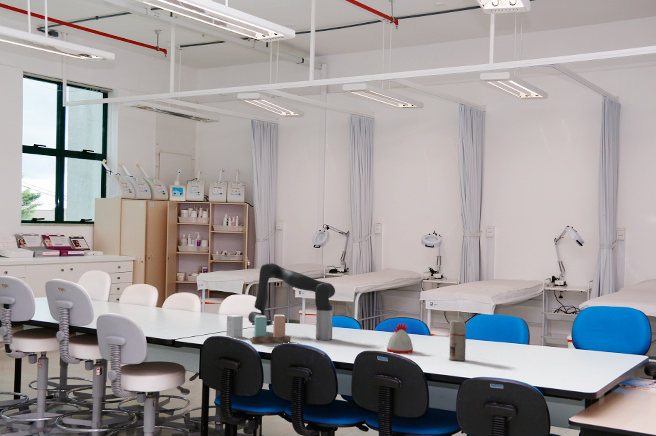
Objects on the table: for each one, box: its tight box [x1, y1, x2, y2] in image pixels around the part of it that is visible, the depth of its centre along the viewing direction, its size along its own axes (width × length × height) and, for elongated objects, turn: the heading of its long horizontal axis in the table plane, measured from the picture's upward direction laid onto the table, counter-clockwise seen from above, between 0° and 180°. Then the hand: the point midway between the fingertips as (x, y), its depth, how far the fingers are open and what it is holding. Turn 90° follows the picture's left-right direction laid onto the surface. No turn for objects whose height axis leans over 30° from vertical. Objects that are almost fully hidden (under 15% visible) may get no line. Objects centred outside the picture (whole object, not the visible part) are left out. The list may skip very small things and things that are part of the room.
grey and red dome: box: [386, 323, 414, 355], centre depth 353 cm, size 14×14×15 cm
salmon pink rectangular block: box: [272, 314, 286, 336], centre depth 374 cm, size 6×5×14 cm
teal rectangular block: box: [253, 315, 268, 337], centre depth 367 cm, size 6×5×14 cm
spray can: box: [448, 319, 467, 361], centre depth 332 cm, size 8×8×20 cm
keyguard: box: [249, 335, 291, 345], centre depth 371 cm, size 21×15×5 cm
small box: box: [226, 314, 244, 338], centre depth 386 cm, size 8×6×13 cm
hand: (264, 324), depth 382 cm, fingers closed
